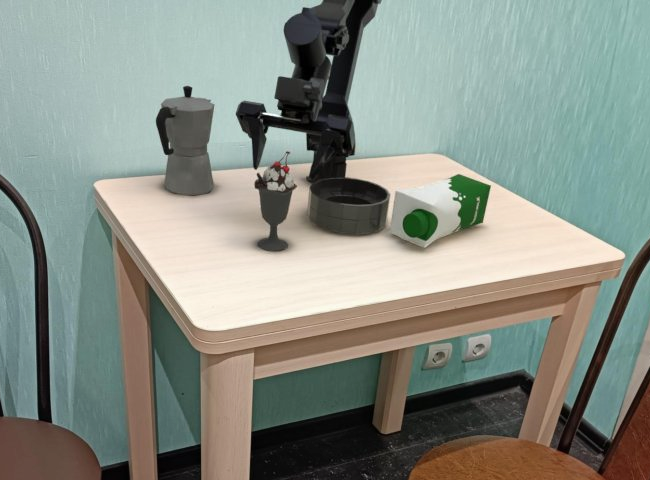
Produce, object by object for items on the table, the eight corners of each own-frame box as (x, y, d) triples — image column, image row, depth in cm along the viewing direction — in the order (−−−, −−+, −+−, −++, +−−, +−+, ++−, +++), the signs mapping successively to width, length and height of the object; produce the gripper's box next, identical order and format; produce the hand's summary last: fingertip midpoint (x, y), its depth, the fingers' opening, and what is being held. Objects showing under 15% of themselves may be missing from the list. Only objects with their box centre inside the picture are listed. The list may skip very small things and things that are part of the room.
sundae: (299, 241, 125) (305, 150, 117) (284, 256, 120) (289, 162, 111) (262, 233, 127) (266, 143, 118) (245, 247, 121) (248, 154, 113)
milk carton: (486, 229, 138) (418, 255, 125) (446, 213, 142) (377, 237, 130) (496, 181, 133) (427, 204, 120) (455, 166, 138) (384, 187, 125)
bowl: (291, 214, 135) (293, 184, 132) (350, 201, 143) (353, 172, 140) (342, 242, 127) (345, 211, 123) (402, 227, 135) (407, 197, 132)
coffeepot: (188, 172, 148) (187, 75, 138) (229, 183, 145) (231, 84, 135) (138, 193, 137) (133, 89, 127) (182, 206, 134) (180, 100, 124)
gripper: (241, 45, 116) (213, 136, 113) (359, 63, 113) (333, 156, 110) (256, 89, 127) (231, 173, 124) (364, 106, 124) (341, 192, 121)
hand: (282, 173), depth 120 cm, fingers open, 9 cm apart
